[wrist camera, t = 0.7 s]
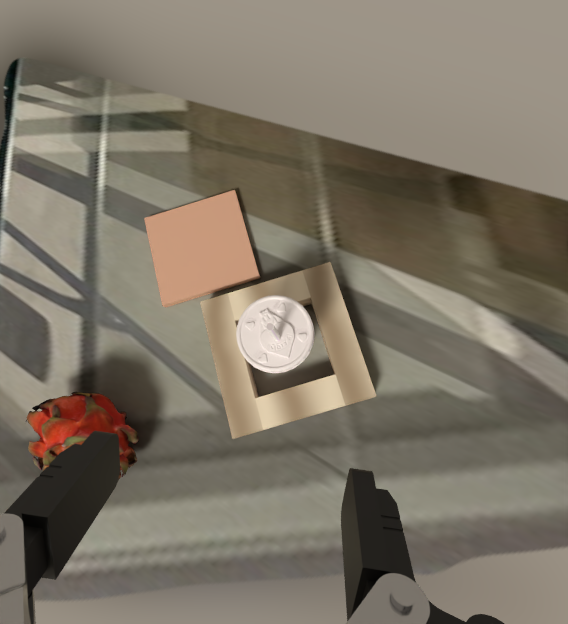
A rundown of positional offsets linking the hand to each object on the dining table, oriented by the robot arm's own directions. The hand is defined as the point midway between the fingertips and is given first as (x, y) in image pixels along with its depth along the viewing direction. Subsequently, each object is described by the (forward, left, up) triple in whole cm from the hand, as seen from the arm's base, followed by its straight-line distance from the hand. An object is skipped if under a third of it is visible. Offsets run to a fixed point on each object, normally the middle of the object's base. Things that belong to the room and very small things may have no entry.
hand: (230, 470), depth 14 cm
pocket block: (-2, -8, -26) cm, 28 cm away
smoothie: (-2, -8, -27) cm, 28 cm away
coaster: (+4, -22, -26) cm, 35 cm away
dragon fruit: (+19, -5, -27) cm, 33 cm away
